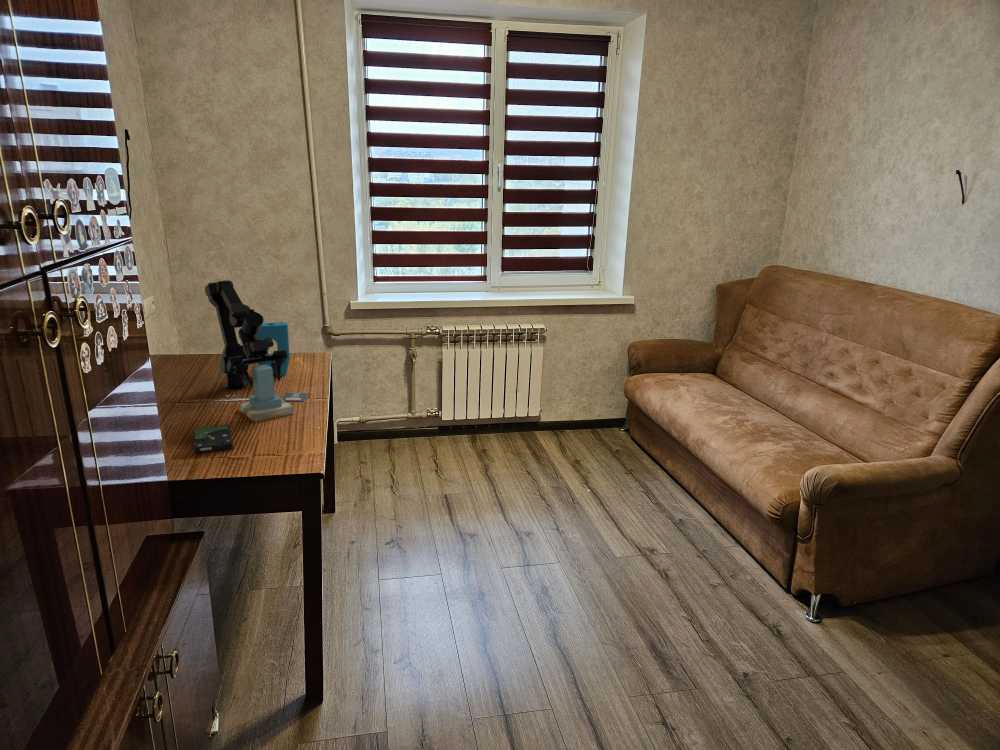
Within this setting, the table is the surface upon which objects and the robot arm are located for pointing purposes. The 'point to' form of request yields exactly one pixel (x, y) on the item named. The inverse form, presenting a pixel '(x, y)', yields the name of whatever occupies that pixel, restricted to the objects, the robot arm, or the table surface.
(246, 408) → the cream base block
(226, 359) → the robot arm
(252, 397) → the teal block
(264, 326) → the block
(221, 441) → the disk drive
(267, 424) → the table surface
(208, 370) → the table surface
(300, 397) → the slate card
